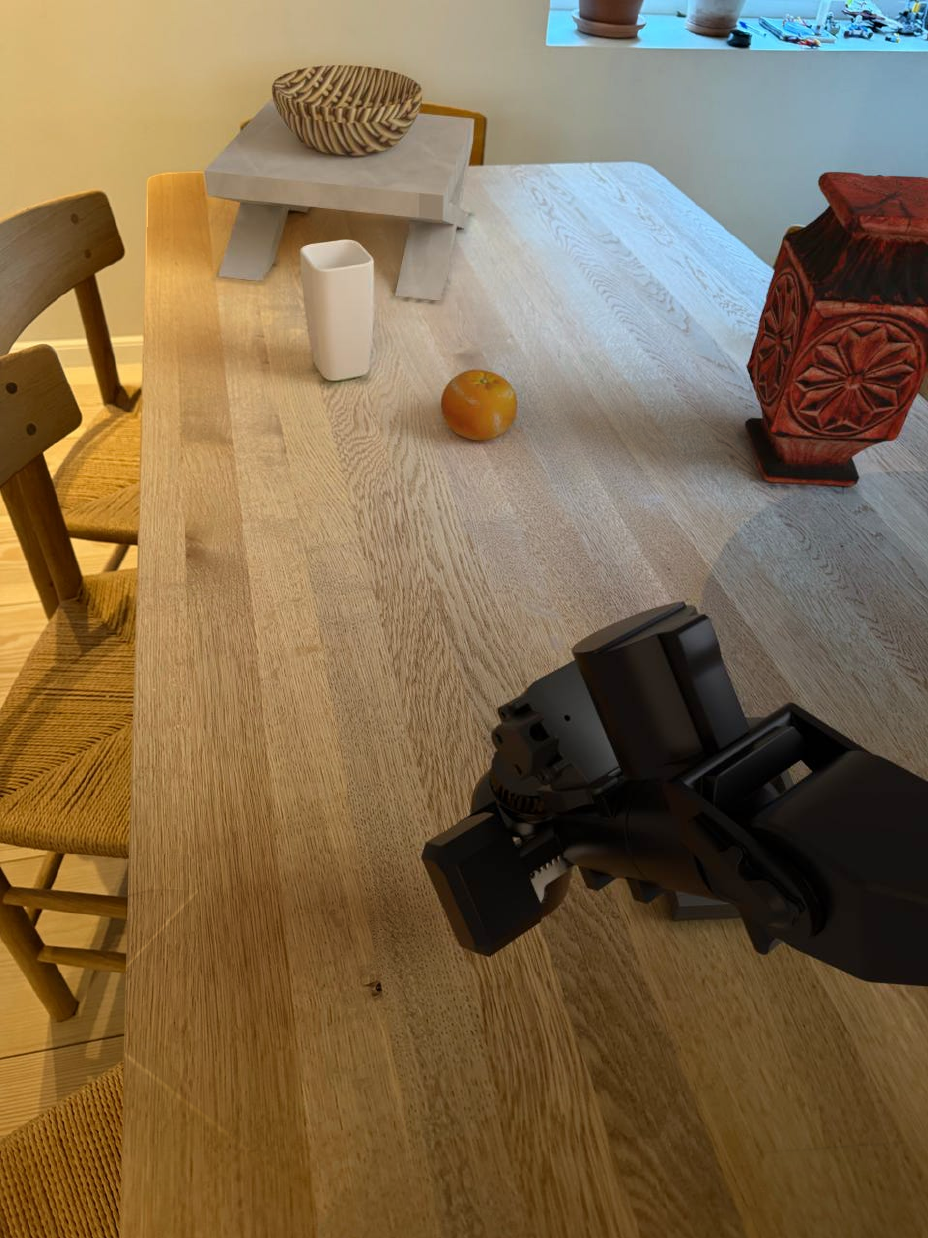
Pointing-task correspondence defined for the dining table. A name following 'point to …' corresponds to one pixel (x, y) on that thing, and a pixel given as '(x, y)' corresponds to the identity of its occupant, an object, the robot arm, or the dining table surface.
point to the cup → (339, 307)
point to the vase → (842, 330)
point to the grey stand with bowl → (346, 168)
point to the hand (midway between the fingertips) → (512, 805)
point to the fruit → (479, 405)
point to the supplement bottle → (520, 817)
